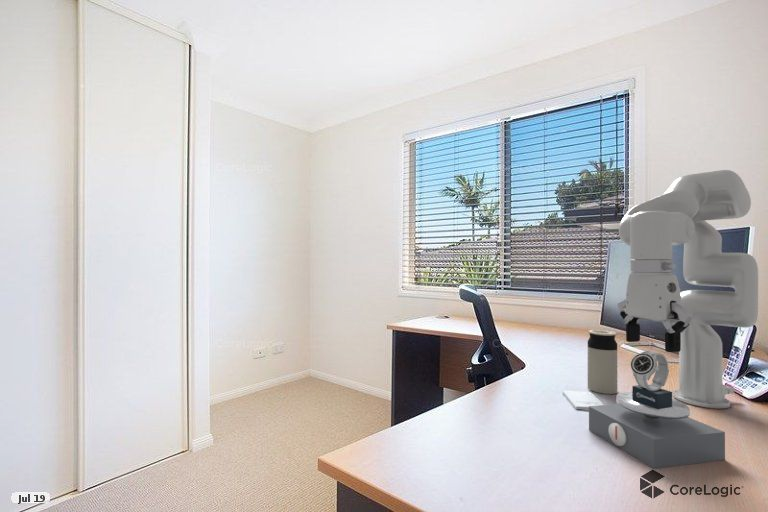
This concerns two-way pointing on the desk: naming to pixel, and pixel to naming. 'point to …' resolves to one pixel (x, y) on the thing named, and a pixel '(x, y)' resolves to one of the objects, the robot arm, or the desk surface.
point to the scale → (657, 437)
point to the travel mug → (602, 362)
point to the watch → (642, 372)
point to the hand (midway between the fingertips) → (651, 346)
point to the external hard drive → (581, 399)
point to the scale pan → (672, 412)
